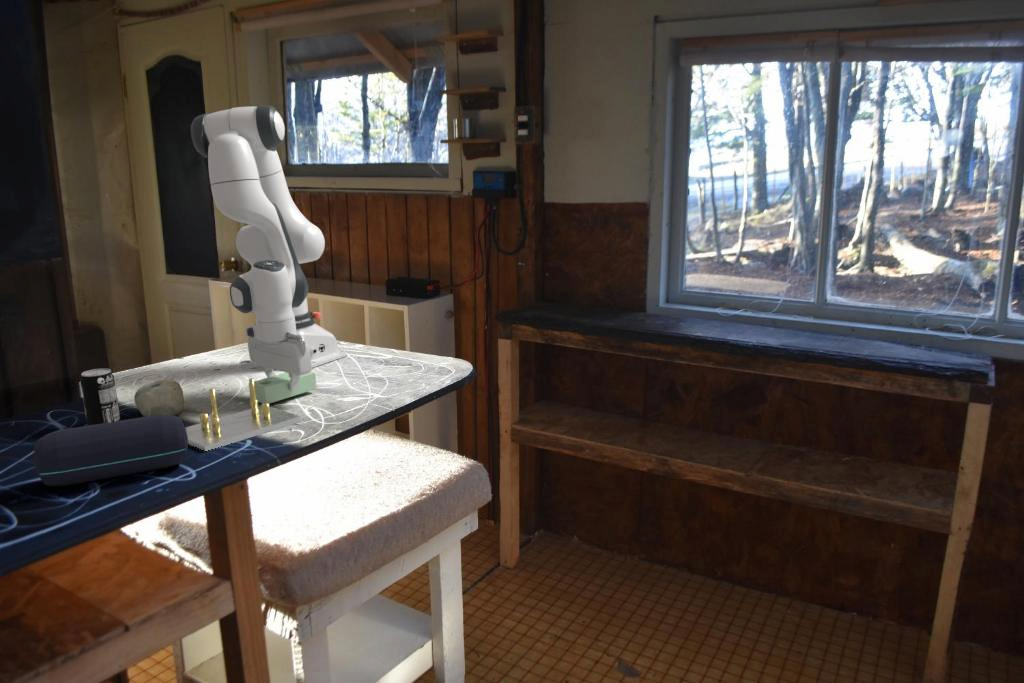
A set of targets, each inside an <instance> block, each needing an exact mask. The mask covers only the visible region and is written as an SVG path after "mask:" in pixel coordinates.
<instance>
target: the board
mask: <svg viewBox="0 0 1024 683" xmlns="http://www.w3.org/2000/svg"><path fill="white" fill-rule="evenodd" d="M290 378H291V377H289V373H286V372H283V373H279V374H275V376H272V377H265V378H262V379H259V380H254V386H255V394H256V399H257V400H258V403H261V404H263V403H269V404H272V403H276V402H279V401H281V400H285V399H289V398H291V397H294V396H297V395H301V394H304V393H307V392H311V391H314V390H317V380H316V373H315V372H312V371H311V372H310V373H308V374H305V375H301V376H300V377H299V380H298V389H297V390H295V391H292V390H289V389H288V383H290ZM248 389H249V392H250V385H249V384H248ZM249 398H250V400H251V394H250V393H249Z"/></svg>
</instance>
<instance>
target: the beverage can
mask: <svg viewBox="0 0 1024 683" xmlns="http://www.w3.org/2000/svg"><path fill="white" fill-rule="evenodd" d="M80 376H81V378H80V380H79V382H80V387H81V388H80V389H81V393H82V394H81V395H82V401H83V408H84V412H85V420H86V423H87V425H96V424H101V423H109V422H114V421H121V412H120V407H119V402H118V401H119V399H118V395H117V388H116V387H117V386H116V382H115V376H114V375H113V373H112V371H111V369H110V368H93V369H90V370H85V371H83V372H82V373H81V375H80Z"/></svg>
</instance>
